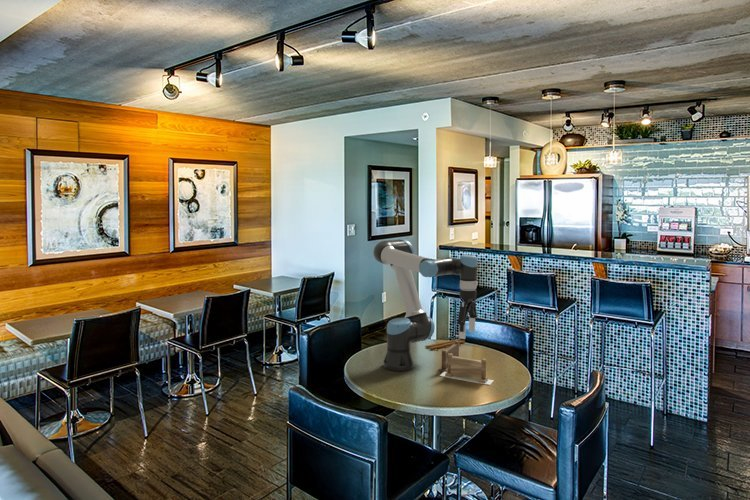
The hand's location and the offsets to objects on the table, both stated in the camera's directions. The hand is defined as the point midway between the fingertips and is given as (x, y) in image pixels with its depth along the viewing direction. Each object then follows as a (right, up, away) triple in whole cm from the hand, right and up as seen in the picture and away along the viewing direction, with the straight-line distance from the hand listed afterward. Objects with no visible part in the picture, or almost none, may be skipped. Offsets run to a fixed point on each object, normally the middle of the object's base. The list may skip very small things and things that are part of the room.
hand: (467, 335), depth 228 cm
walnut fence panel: (-5, -19, +20) cm, 28 cm away
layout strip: (0, -21, +2) cm, 21 cm away
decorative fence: (-2, -16, +54) cm, 57 cm away
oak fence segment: (0, -20, +2) cm, 20 cm away
